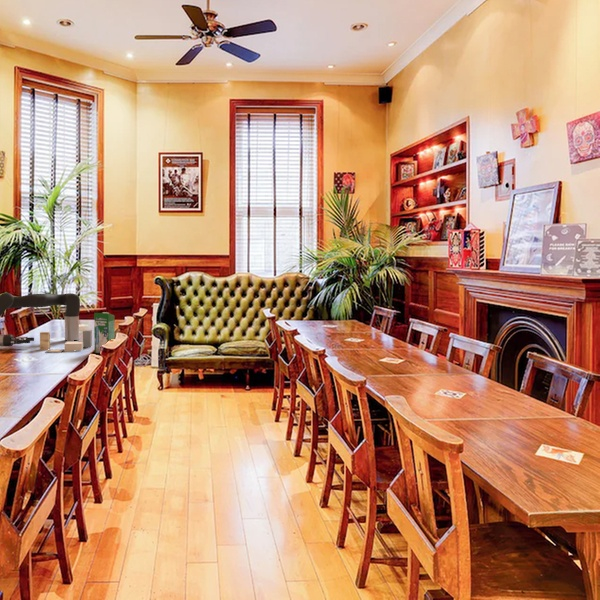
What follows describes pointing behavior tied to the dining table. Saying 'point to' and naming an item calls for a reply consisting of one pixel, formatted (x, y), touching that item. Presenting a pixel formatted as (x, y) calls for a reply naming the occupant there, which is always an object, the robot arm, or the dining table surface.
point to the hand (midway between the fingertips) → (32, 340)
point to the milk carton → (103, 329)
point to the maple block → (44, 340)
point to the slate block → (87, 338)
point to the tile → (55, 350)
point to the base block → (73, 345)
